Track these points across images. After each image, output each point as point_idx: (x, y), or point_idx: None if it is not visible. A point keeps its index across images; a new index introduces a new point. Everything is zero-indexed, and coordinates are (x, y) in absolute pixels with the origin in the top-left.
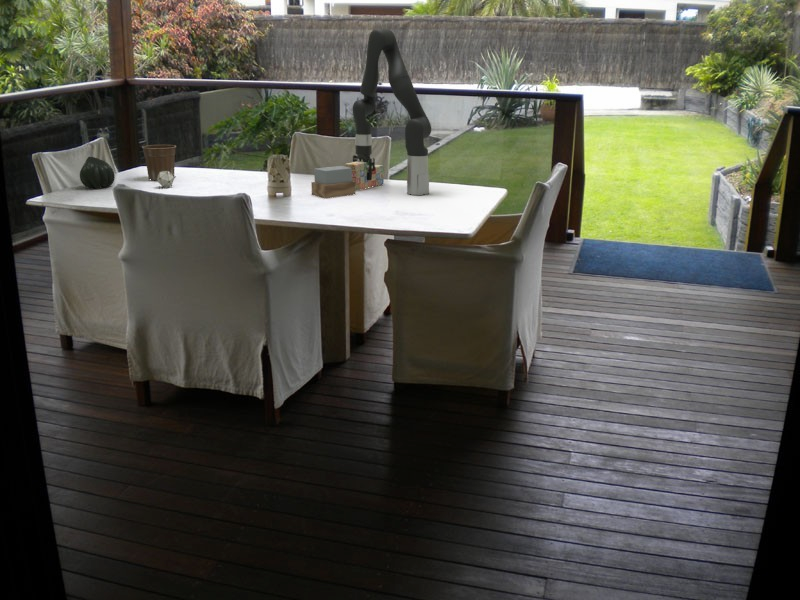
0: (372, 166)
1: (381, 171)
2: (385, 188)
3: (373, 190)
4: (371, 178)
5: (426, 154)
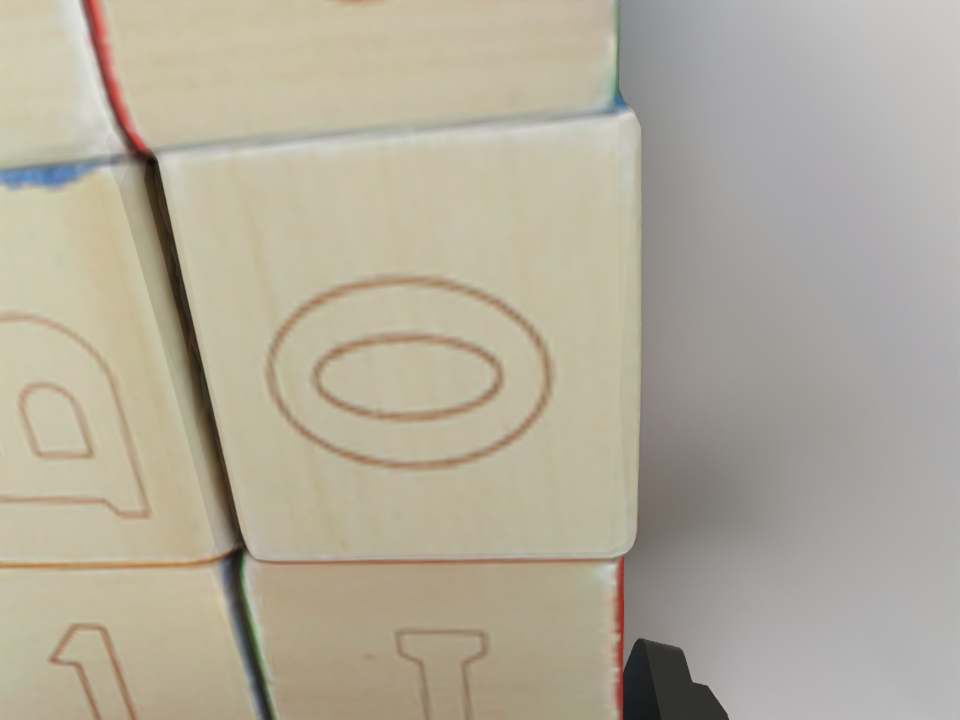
0: (311, 514)
1: None
2: (906, 355)
3: (802, 642)
4: (718, 707)
5: None
